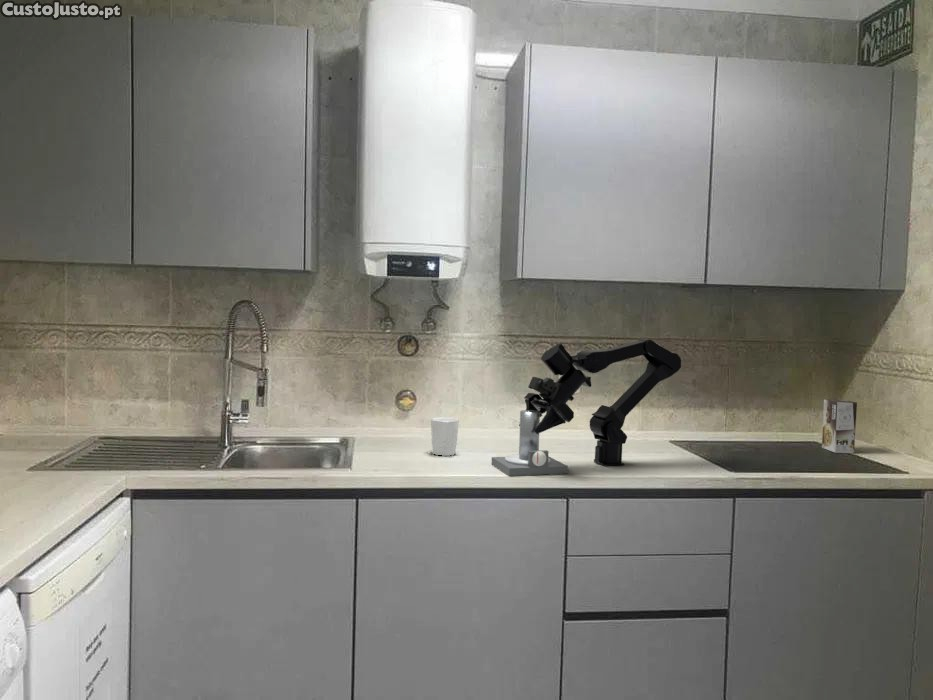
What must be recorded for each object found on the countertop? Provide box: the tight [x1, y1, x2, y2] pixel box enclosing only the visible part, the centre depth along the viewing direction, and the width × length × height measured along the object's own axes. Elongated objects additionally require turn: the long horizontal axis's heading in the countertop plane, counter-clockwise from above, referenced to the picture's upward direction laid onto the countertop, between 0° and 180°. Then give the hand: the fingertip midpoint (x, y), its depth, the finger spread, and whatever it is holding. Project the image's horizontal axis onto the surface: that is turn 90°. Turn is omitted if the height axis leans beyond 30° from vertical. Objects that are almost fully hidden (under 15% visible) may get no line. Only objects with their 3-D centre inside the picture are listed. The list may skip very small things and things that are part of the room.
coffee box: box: [821, 398, 858, 454], centre depth 232 cm, size 9×6×16 cm
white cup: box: [430, 416, 460, 457], centre depth 209 cm, size 8×8×10 cm
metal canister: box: [518, 409, 541, 460], centre depth 193 cm, size 5×5×13 cm
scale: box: [491, 449, 569, 477], centre depth 192 cm, size 16×14×6 cm
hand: (527, 429), depth 193 cm, fingers open, 9 cm apart
